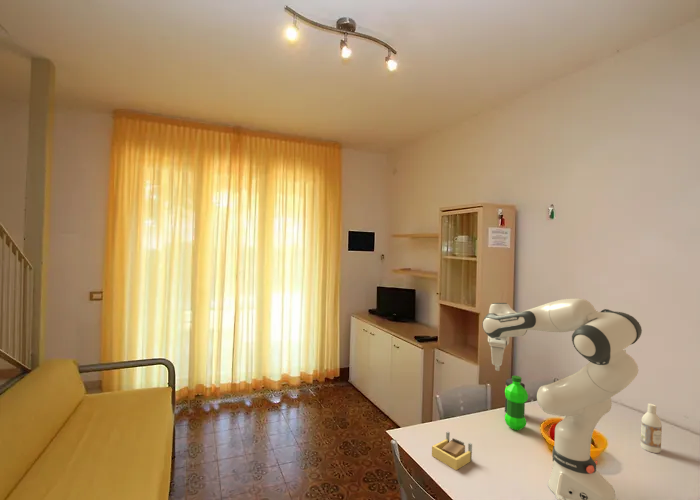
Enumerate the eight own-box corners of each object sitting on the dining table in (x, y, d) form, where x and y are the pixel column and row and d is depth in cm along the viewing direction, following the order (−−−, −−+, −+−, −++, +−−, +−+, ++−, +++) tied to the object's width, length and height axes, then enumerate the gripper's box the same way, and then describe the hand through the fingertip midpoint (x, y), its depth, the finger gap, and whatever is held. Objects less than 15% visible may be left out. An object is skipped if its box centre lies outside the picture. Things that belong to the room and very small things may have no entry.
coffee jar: (527, 418, 184) (528, 383, 183) (513, 419, 182) (514, 383, 182) (515, 410, 193) (516, 376, 193) (501, 411, 192) (503, 377, 192)
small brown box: (464, 455, 149) (465, 443, 149) (455, 465, 142) (455, 451, 142) (451, 450, 153) (451, 437, 153) (441, 458, 146) (441, 445, 146)
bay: (471, 460, 145) (472, 443, 145) (456, 470, 139) (456, 452, 139) (447, 447, 155) (447, 431, 155) (431, 455, 148) (432, 439, 148)
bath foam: (650, 453, 155) (651, 408, 154) (636, 444, 161) (637, 401, 161) (665, 453, 155) (666, 408, 155) (651, 444, 162) (652, 401, 162)
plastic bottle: (530, 433, 169) (532, 381, 169) (508, 432, 169) (510, 380, 169) (521, 422, 179) (522, 373, 179) (500, 422, 179) (501, 373, 179)
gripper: (492, 332, 167) (491, 362, 167) (489, 342, 149) (488, 375, 149) (506, 334, 165) (505, 364, 165) (505, 345, 146) (504, 378, 146)
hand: (497, 369), depth 157 cm, fingers closed
